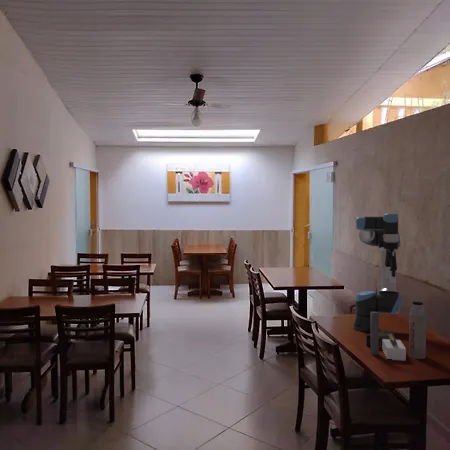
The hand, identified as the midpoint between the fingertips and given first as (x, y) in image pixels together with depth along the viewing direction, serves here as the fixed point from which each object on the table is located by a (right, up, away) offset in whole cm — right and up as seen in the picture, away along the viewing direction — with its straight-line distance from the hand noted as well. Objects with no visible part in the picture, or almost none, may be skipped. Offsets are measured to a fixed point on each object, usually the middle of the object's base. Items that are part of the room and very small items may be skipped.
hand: (390, 280), depth 245 cm
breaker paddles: (-3, -31, -12) cm, 33 cm away
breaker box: (-3, -37, -12) cm, 39 cm away
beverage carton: (-3, -37, +7) cm, 38 cm away
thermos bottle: (+8, -37, -14) cm, 41 cm away
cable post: (-12, -37, -10) cm, 41 cm away
